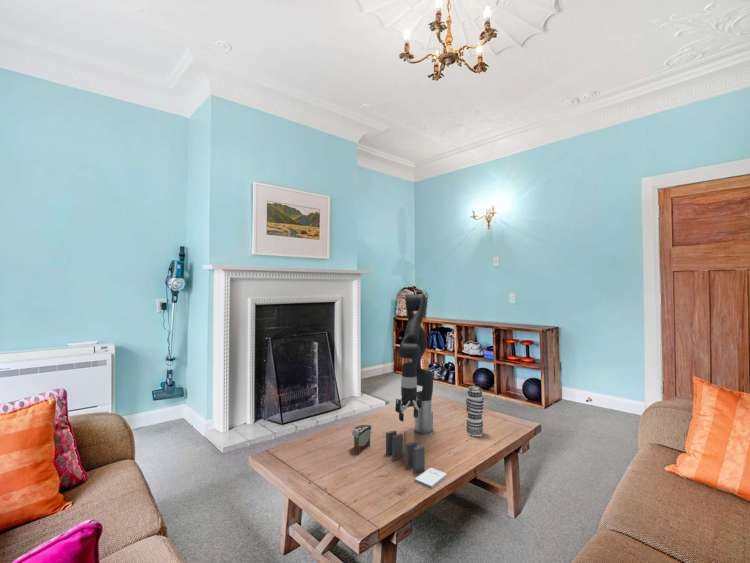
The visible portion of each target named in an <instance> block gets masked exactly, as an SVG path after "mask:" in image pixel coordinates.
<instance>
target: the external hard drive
mask: <svg viewBox="0 0 750 563" xmlns="http://www.w3.org/2000/svg"><path fill="white" fill-rule="evenodd" d="M447 477H448V474H447V473H446V472H444V471H441V470H438V469H436V468H433V467H429V468H428V469H427V470H424V472H422V473H421V474H419V475H418V476H417V477H416V478H414V479H413V481H414V483H417V484H419V485H421V486H424V487H425V488H426V487H427V488H429V489H433V488H435V487H436V486H437V485H438V484H440V482H442V481H443V480H444V479H445V478H447Z"/></svg>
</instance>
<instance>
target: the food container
mask: <svg viewBox="0 0 750 563" xmlns="http://www.w3.org/2000/svg"><path fill="white" fill-rule="evenodd" d="M371 431H372V425H371V424H360V425H356V426H354V427H353V429H352V432H351V433H352V434H351V435H352V436H353V443H354V446H353V447H354V451H355V453H357V454H362V452H364V451H366V450H367V449H368V448H369V447H371V433H372V432H371Z"/></svg>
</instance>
